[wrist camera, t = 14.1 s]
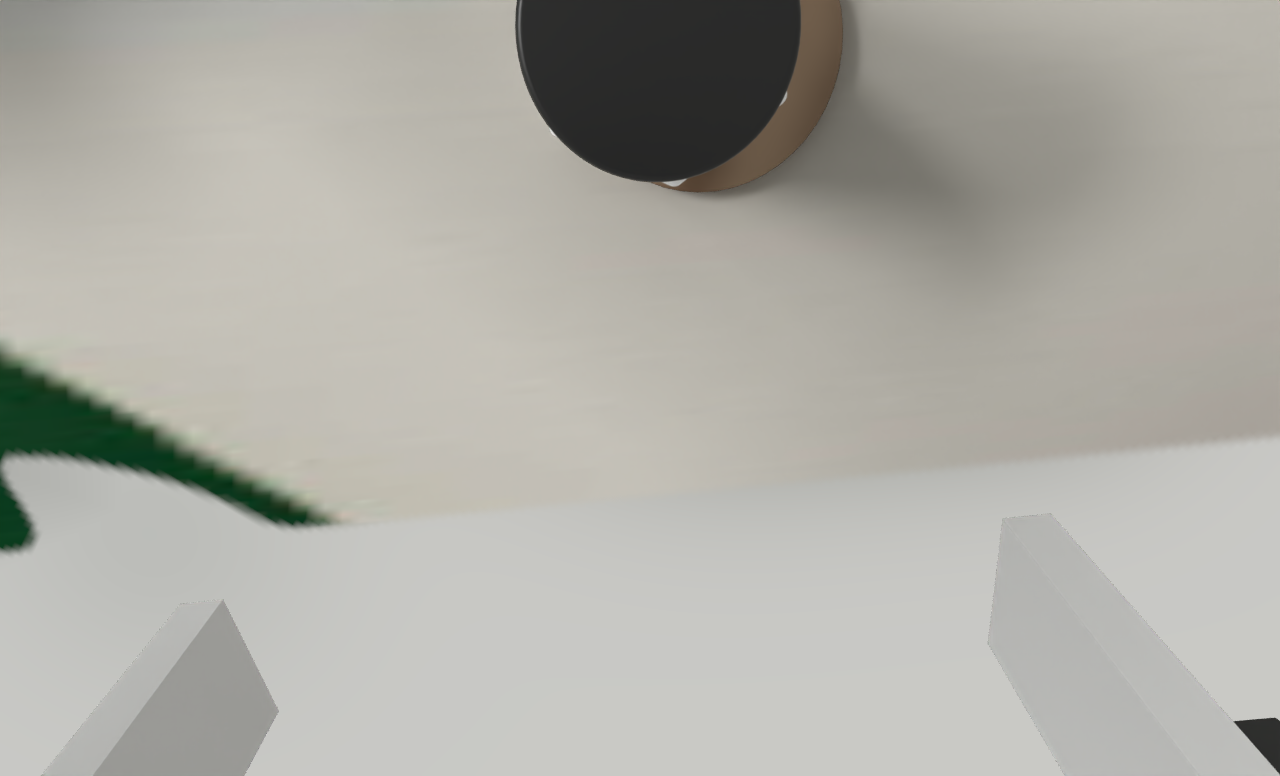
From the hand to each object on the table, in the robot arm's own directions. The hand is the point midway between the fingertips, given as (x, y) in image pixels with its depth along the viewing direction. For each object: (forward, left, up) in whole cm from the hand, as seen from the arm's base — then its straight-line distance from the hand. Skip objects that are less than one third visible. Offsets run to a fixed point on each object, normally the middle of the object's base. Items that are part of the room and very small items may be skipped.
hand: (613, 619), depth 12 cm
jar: (+2, +10, -25) cm, 27 cm away
